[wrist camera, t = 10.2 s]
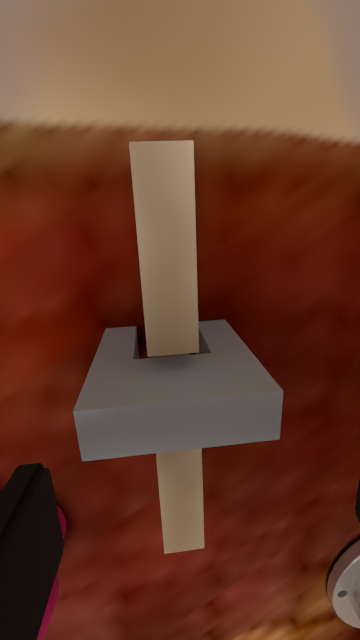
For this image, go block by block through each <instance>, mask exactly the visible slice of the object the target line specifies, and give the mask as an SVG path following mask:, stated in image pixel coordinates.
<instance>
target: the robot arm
mask: <svg viewBox="0 0 360 640" xmlns="http://www.w3.org/2000/svg"><path fill="white" fill-rule="evenodd" d="M355 510H356V515H357V518H358V520H359V522H360V480H359V486H358V493H357V500H356V507H355ZM63 548H64V538H63V533H62V528H61V523H60V519H59V514H58V509H57V504H56V499H55V494H54V489H53V485H52V480H51V475H50V471H49V469H48V468H44V467H43V465H42V464H41V463H37V464H26V465H20V466H18V467H17V468H16V470H15V471H14V473H13V475H12V476H11V478H10V479H9V481H8V483H7V484H6V486H5V488H4V489H3V491H2V493H1V494H0V640H37V637H38V634H39V631H40V627H41V624H42V621H43V617H44V614H45V611H46V607H47V604H48V601H49V597H50V594H51V591H52V587H53V584H54V581H55V577H56V574H57V571H58V567H59V564H60V561H61V557H62V554H63ZM327 594H328V597H329V600H330V602H331V604H332V606H333V608H334V610H335V612H336V614H337V616H338V617H339V618H340V619H341V620H342V621H343V622H345V623H347V624H349V625H351V626H353V627H356V628H360V540H358V541H357V542H356V543H354V544H353V545H352V546H350V547H349V548H348V549H347V550H346V551H345V552H344V553H343V554H342V555H341V557H340V558H339V559H338V561H337V562H336V563H335V565H334V567H333V569H332V571H331V573H330V575H329V579H328V583H327Z"/></svg>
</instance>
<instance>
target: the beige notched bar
mask: <svg viewBox="0 0 360 640" xmlns="http://www.w3.org/2000/svg"><path fill="white" fill-rule="evenodd" d="M129 148H130V160H131V171H132V183H133V194H134V206H135V217H136V229H137V240H138V252H139V264H140V275H141V287H142V298H143V310H144V321H145V333H146V345H147V356H148V357H150V358H158V357H170V356H182V355H189V353H198V352H199V330H198V292H197V254H196V217H195V179H194V142H193V140H186V141H143V142H129ZM156 460H157V472H158V483H159V495H160V506H161V518H162V530H163V541H164V553H165V554H167V553H174V552H181V551H188V550H195V549H202V548H204V517H203V480H202V448H198V449H189V450H180V451H171V452H162V453H156Z"/></svg>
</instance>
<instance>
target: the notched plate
mask: <svg viewBox="0 0 360 640" xmlns="http://www.w3.org/2000/svg"><path fill="white" fill-rule="evenodd" d="M198 330H199V352H198V353H197V354H194V355H182V356H170V357H158V358H146V359H139V348H138V337H137V327H136V326H130V327H117V328H106V329H105V332H104V334H103V337H102V339H101V342H100V345H99V347H98V350H97V352H96V355H95V357H94V360H93V362H92V365H91V367H90V370H89V372H88V375H87V377H86V380H85V383H84V385H83V388H82V390H81V393H80V395H79V398H78V400H77V403H76V405H75V408H74V410H73V414H74V420H75V425H76V431H77V436H78V442H79V447H80V453H81V458H82V461H91V460H100V459H109V458H117V457H126V456H135V455H144V454H153V453H162V452H171V451H180V450H189V449H198V448H207V447H216V446H225V445H234V444H243V443H251V442H260V441H269V440H278V439H280V428H281V415H282V402H283V390H282V389H281V388H280V386H279V385H278V384H277V383H276V381H275V380H274V379H273V378H272V377H271V375H270V374H269V373H268V372H267V370H266V369H265V368H264V367H263V366H262V364H261V363H260V362H259V361H258V359H257V358H256V357H255V356H254V354H253V353H252V352H251V351H250V350H249V348H248V347H247V346H246V345H245V343H244V342H243V341H242V340H241V338H240V337H239V336H238V335H237V334H236V332H235V331H234V330H233V329H232V327H231V326H230V325H229V324H228V323H227V321H226V320H225V319H224V320H211V321H198Z"/></svg>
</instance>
